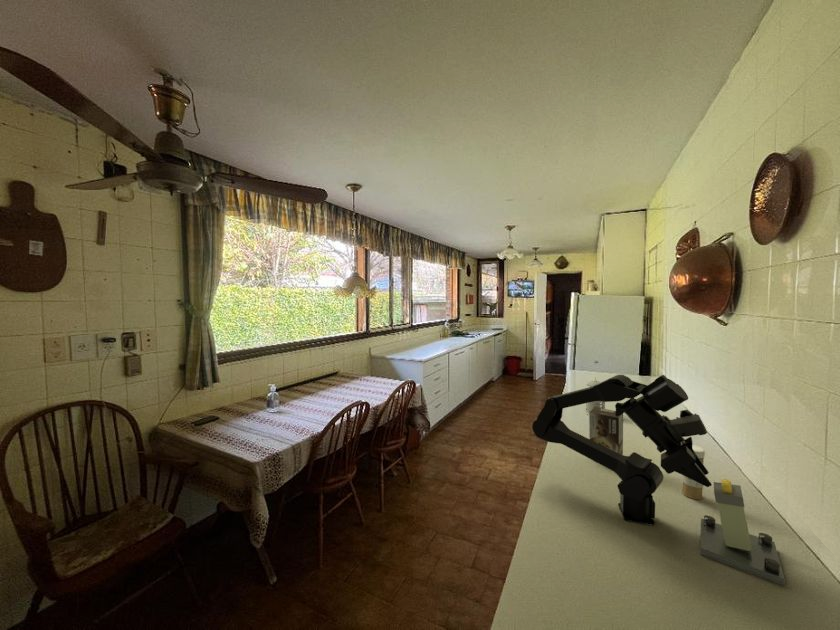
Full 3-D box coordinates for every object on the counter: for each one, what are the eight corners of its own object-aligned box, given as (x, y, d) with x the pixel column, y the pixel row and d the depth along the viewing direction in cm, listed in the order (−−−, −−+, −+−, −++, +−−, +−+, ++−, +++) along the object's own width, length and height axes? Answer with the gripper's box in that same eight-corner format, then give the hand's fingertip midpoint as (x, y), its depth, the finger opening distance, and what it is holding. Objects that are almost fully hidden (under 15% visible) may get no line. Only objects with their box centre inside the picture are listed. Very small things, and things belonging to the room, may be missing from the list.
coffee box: (623, 459, 110) (624, 412, 109) (619, 466, 105) (619, 417, 105) (593, 451, 116) (594, 406, 116) (588, 457, 112) (588, 411, 111)
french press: (578, 411, 156) (579, 359, 154) (595, 408, 161) (596, 357, 159) (597, 418, 147) (598, 363, 146) (614, 414, 152) (615, 360, 150)
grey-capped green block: (724, 545, 69) (712, 486, 70) (723, 531, 74) (712, 475, 74) (753, 552, 67) (741, 490, 67) (751, 537, 71) (739, 479, 71)
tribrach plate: (700, 554, 70) (700, 540, 69) (700, 524, 79) (701, 512, 78) (784, 586, 62) (785, 571, 62) (774, 548, 71) (774, 535, 71)
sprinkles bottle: (677, 491, 92) (678, 444, 91) (692, 489, 92) (693, 443, 92) (692, 501, 88) (693, 451, 87) (707, 499, 88) (709, 450, 87)
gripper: (682, 413, 68) (754, 482, 62) (678, 392, 83) (736, 446, 77) (635, 441, 73) (698, 507, 67) (640, 416, 88) (692, 468, 82)
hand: (708, 479), depth 74 cm, fingers open, 6 cm apart
